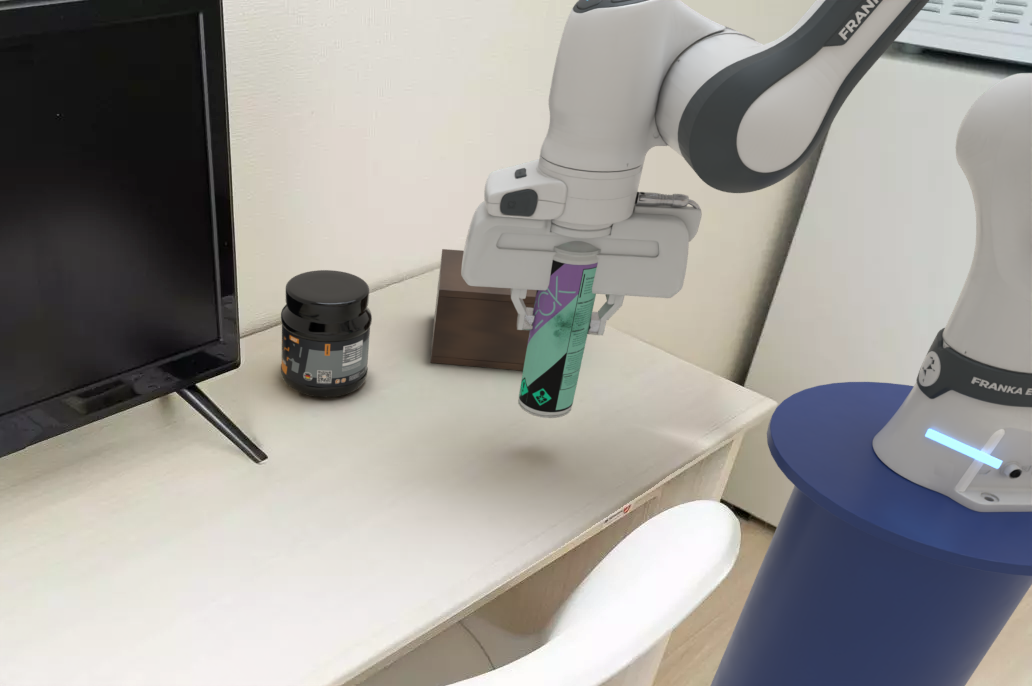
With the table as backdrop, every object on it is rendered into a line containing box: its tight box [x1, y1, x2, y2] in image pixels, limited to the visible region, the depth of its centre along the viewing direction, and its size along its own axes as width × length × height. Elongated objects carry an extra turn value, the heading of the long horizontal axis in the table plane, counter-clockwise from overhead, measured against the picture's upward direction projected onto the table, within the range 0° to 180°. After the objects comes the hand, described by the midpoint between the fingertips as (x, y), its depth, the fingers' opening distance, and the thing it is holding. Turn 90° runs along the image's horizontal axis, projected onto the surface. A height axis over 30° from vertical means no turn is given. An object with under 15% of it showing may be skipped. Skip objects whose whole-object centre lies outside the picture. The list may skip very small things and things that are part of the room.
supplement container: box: [280, 269, 373, 398], centre depth 109 cm, size 10×10×12 cm
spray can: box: [517, 241, 601, 419], centre depth 91 cm, size 6×6×20 cm
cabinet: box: [430, 248, 537, 372], centre depth 117 cm, size 15×13×10 cm
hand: (558, 330), depth 91 cm, fingers closed on spray can, 5 cm apart
